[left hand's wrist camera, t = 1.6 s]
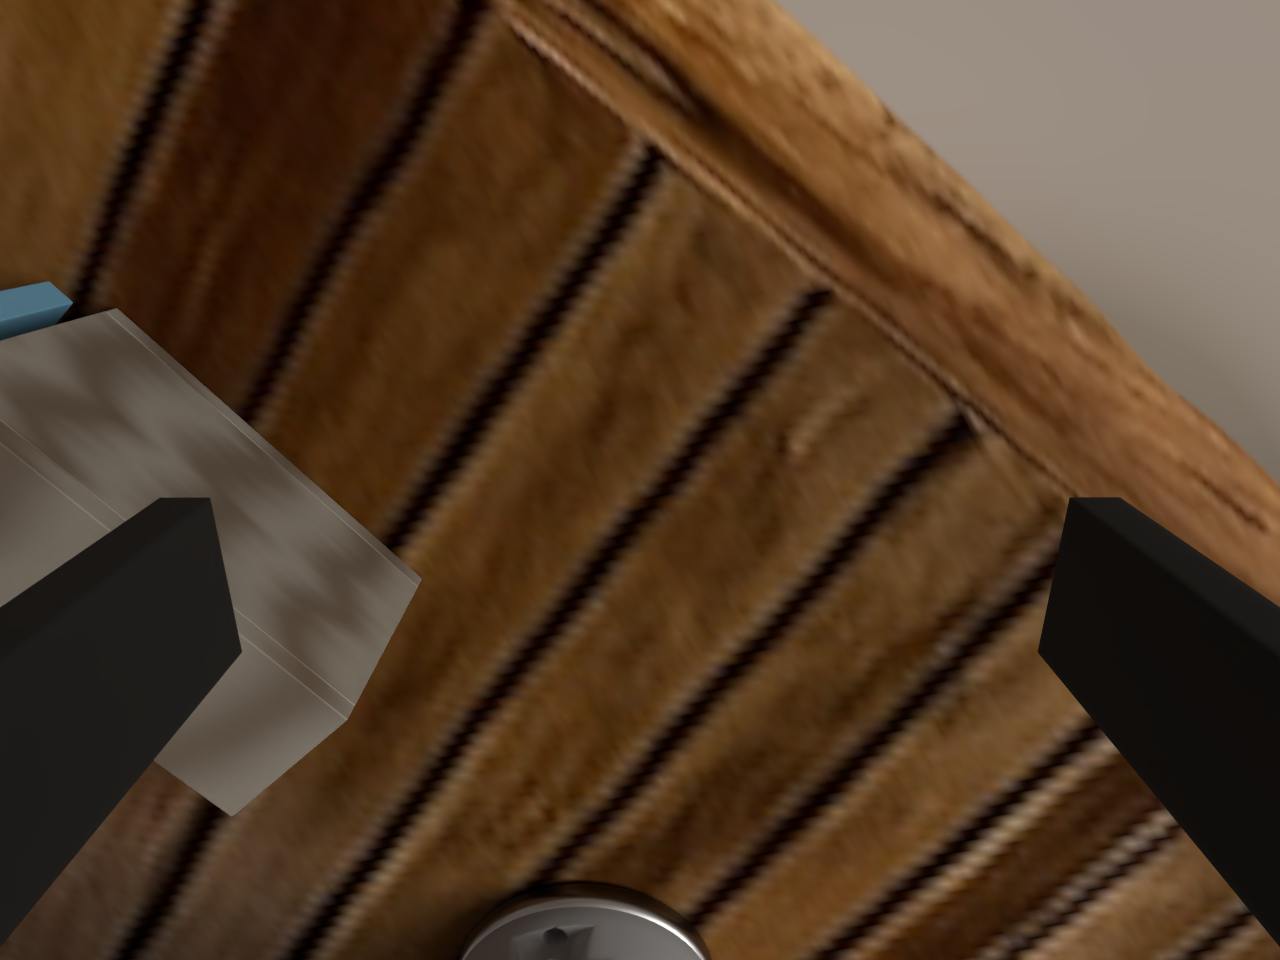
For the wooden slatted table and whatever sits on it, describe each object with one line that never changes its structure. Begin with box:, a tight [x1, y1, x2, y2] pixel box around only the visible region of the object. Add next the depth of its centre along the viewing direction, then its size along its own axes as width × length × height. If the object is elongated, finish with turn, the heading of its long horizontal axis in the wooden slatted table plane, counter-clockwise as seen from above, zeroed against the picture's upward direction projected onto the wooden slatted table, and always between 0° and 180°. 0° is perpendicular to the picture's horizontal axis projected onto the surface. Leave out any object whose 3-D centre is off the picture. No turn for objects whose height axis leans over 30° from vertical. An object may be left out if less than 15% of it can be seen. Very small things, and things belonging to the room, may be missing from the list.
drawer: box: [0, 281, 73, 340], centre depth 31 cm, size 22×6×9 cm, turn 42°
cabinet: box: [0, 308, 422, 816], centre depth 32 cm, size 17×7×10 cm, turn 42°
